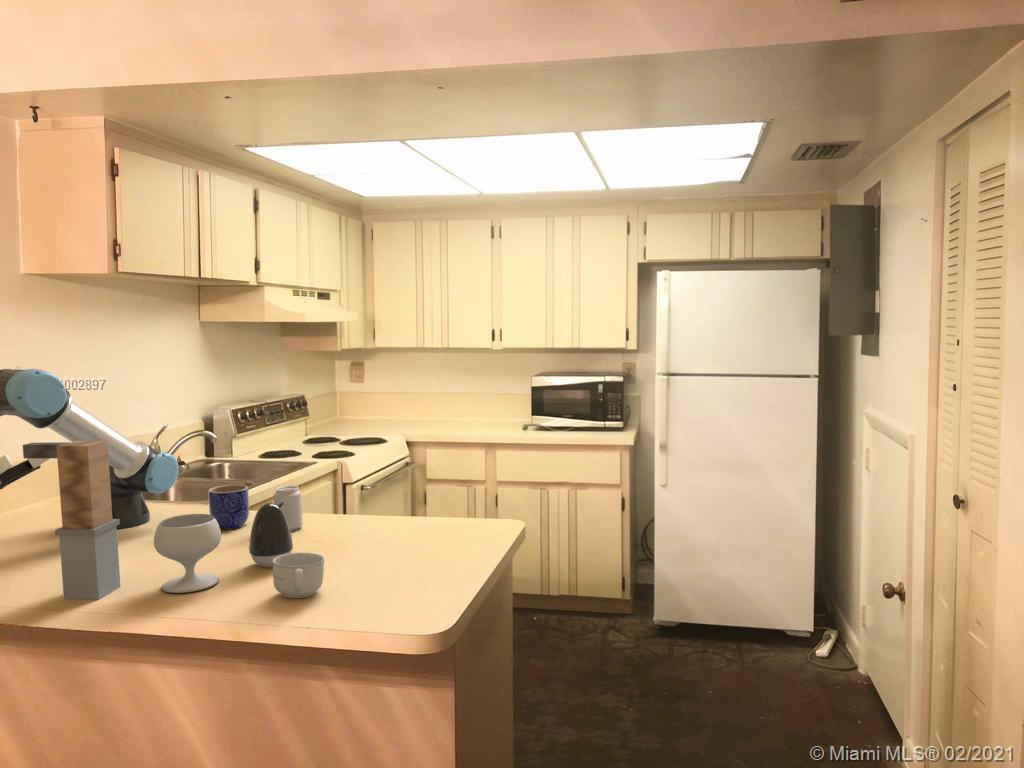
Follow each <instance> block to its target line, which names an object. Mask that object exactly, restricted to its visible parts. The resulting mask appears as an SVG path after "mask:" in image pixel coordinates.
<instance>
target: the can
mask: <svg viewBox="0 0 1024 768" xmlns="http://www.w3.org/2000/svg"><path fill="white" fill-rule="evenodd" d="M273 497H274V498H273V501H274V502H273V503H274V504H276V505H277V504H278V503H280V502H283V503H284V504H283V506H282V507H281V510H282V511H283V513H284V515H285V517H286V520H287V523H288V525H289V529H290V532H294V531H293V530H296V531H297V529H298V530H300V529H301V527H303V508H302V507H303V506H302V505H303V504H302V492H301V491H300V489H299V486H297V485H285V486H280V487H276V490H275V492H274V494H273ZM299 528H300V529H299Z"/></svg>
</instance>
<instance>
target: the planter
mask: <svg viewBox="0 0 1024 768" xmlns="http://www.w3.org/2000/svg"><path fill="white" fill-rule="evenodd" d="M207 495H208V496H207V497H208V510H209V515H212V516H213V517H214V518H215V519H216V521H217V522H218V525H219V528H220V530H233V528H234V529H237V528H241V527H242V526H244V525H245V524H246V523H247V521H248V519H249V516H250V500H249V498H250V497H249V487H248V486H247V485H246V484H245V485H244V484H224V485H220V486H215V487H212V488H211V487H210V488H209V489H208V494H207Z"/></svg>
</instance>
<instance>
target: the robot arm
mask: <svg viewBox="0 0 1024 768" xmlns="http://www.w3.org/2000/svg"><path fill="white" fill-rule="evenodd" d="M65 387H66V386H65V384H64V382H63V381H62V379H61V378H59V376H57V375H55V373H52V372H49V371H47V370H43V369H39V368H38V369H37V368H29V369H12V368H2V369H0V417H2V416H15V417H18V418H20V419H21V420H23V421H25V422H26V423H28V424H30V425H32V426H33V427H35V428H37V429H41V430H42V429H47V428H48V429H50V430H52V431H53V432H55V433H57V434H58V435H60V436H61V437H62V438H64V439H66V440H68V441H69V442H75V441H107V444H108V459H109V473H110V488H111V503H112V518H113V519H120V524H119V525H117V529H123V528H130V527H135V526H140V525H142V524H145V523H147V522H149V521H150V520H151V512H150V510H149V507H148V505H147V502H146V501H145V498H144V495H143V493H150V494H163V493H166V492H167V491H169V490H170V489H172V488H173V486H174V484H175V483H176V482H177V480H178V476H179V471H180V470H179V462H178V460H177V458H176V457H175V456H174V455H173V454H172V453H168V452H167V451H165V452H164V451H163V452H162V451H158V450H156V449H155V448H153V447H152V446H151V445H149V444H147V443H146V442H144V441H135V442H134V441H133V440H131V439H130V438H128V437H127V436H125V435H124V434H122V433H121V432H119V431H117V430H116V429H115V428H113V427H112V426H110V425H109V424H107V423H106V422H105V421H103V420H101V419H100V418H98V417H96V416H95V415H93V414H92V413H91V412H89V411H88V410H86V409H85V408H83V407H82V406H80V405H79V404H77V403H76V402H74V401H73V400H72V393H71V392H70V391H68V389H66V388H65ZM50 459H51V458H32V459H26V460H24V461H22V462H20V463H18V464H16V465H15V463H14V462H13V461H12V459H11V458H10V456H9V455H8V454H7V453H6V454H3V455H2V456H1V457H0V490H3V489H4V488H6V487H7V486H9V485H11V484H12V483H14V482H16V481H18V480H19V479H22V478H24V477H25V476H26V477H27V475H29V474H31V473H33V472H35V471H37V470H40V469H41V468H42V466H41V465H43V464H44V463H45V462H47V461H49V460H50Z"/></svg>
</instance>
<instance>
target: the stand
mask: <svg viewBox="0 0 1024 768" xmlns="http://www.w3.org/2000/svg"><path fill="white" fill-rule="evenodd" d="M119 524H120V519H113V520H112V521H110V522H107V523H105V524H103V525H101V526H98V527H96V528H94V529H63V528H62V526H61V527H59V528H56V529H54V534H55V536H58V537H59V550H60V552H59V553H60V564H61V578H62V592H63V599H64V600H100V599H102V598H104V597H106V596H107V595H109V594H111V593H112V592H114V591H116V590H117V589H119V588H121V573H120V571H121V570H120V562H119V561H120V559H119V543H118V528H117V525H119Z"/></svg>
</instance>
